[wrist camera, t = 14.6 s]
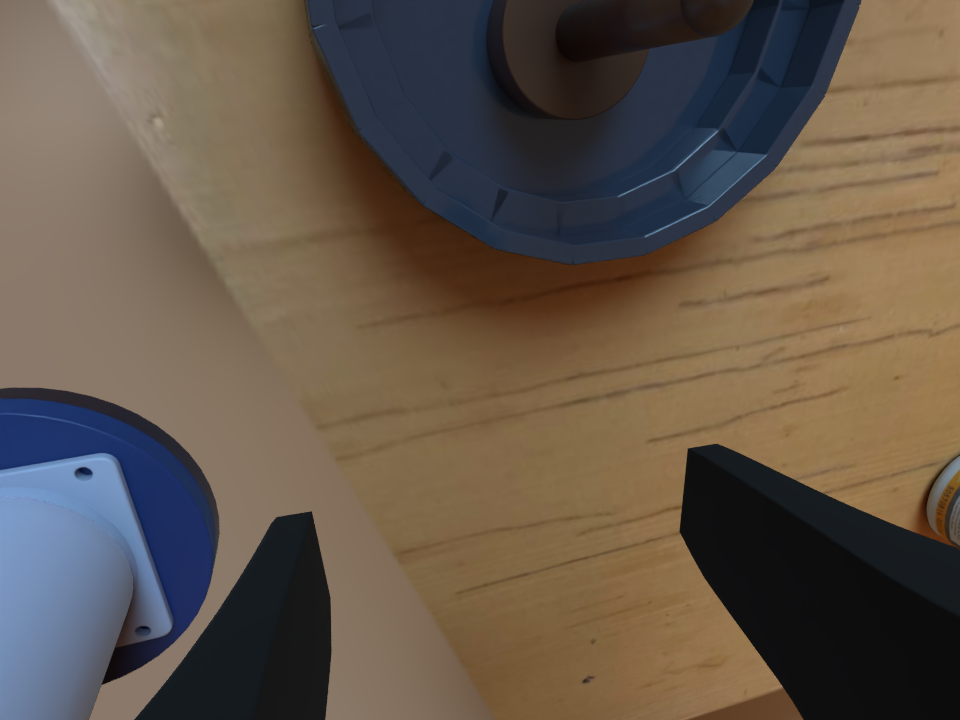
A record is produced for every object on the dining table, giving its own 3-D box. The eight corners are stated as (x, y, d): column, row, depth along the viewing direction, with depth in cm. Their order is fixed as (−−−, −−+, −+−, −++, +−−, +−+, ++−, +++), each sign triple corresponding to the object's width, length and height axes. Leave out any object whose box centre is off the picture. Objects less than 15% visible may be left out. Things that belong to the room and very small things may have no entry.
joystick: (502, 134, 19) (635, 148, 11) (471, -33, 17) (606, -151, 9) (632, 101, 19) (842, 94, 12) (617, -62, 17) (853, -195, 10)
